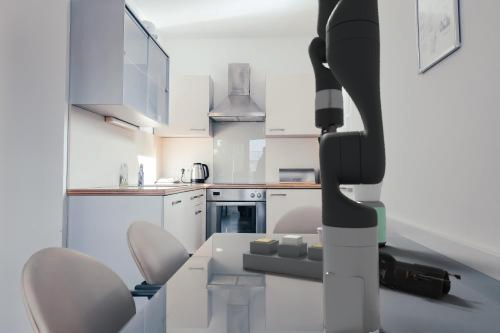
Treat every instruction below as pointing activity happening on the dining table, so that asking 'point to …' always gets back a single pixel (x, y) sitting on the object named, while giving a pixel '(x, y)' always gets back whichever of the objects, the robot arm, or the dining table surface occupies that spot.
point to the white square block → (292, 240)
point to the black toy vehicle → (414, 277)
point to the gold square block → (264, 240)
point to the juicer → (372, 198)
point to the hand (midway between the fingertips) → (330, 174)
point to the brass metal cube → (318, 245)
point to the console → (285, 259)
